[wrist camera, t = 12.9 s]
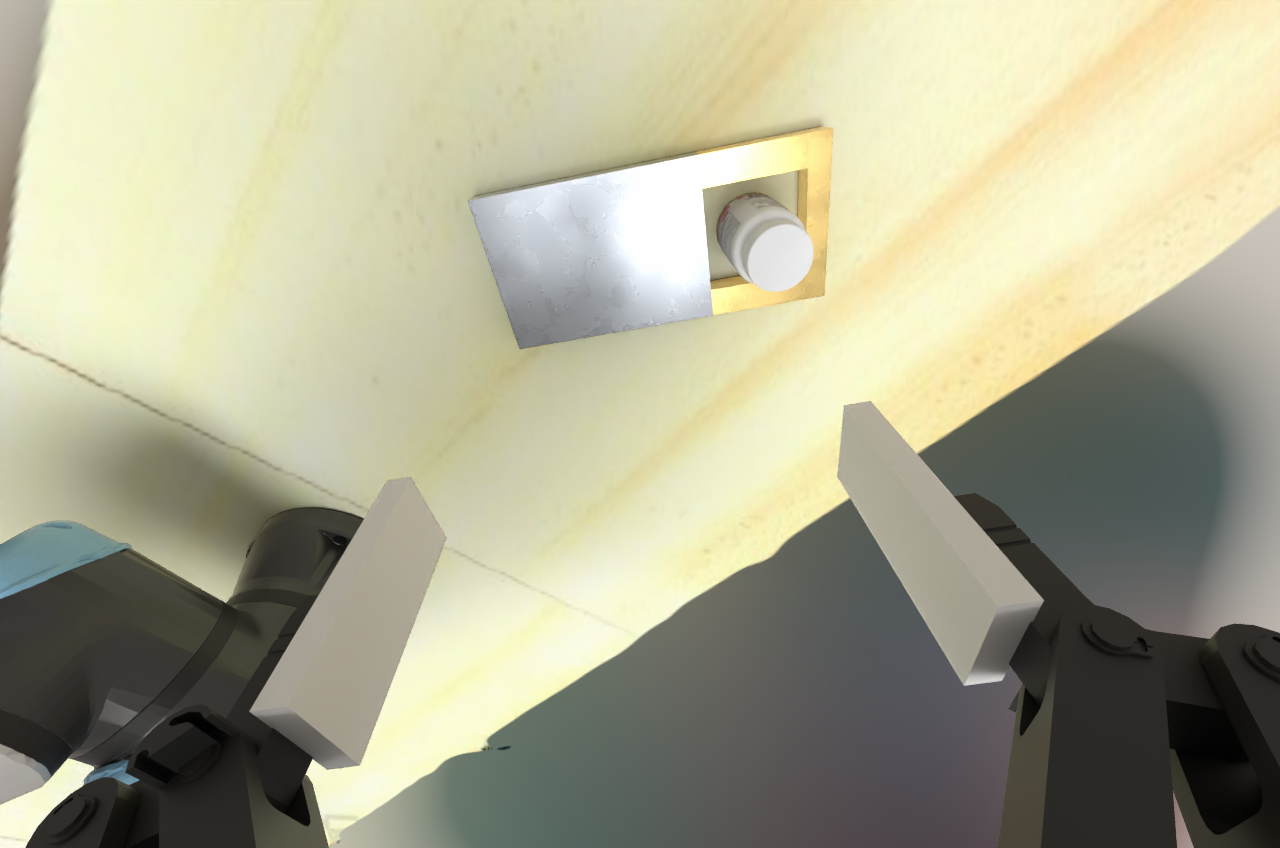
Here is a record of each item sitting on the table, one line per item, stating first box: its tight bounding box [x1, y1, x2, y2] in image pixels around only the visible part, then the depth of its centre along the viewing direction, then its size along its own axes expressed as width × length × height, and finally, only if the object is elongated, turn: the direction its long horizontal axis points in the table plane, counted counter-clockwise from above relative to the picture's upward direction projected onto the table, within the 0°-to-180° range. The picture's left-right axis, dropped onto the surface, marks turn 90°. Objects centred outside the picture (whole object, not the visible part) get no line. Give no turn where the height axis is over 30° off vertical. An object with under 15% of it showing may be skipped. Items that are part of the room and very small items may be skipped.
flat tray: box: [468, 126, 833, 349], centre depth 34 cm, size 24×11×2 cm, turn 100°
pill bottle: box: [717, 193, 814, 292], centre depth 31 cm, size 5×5×8 cm
